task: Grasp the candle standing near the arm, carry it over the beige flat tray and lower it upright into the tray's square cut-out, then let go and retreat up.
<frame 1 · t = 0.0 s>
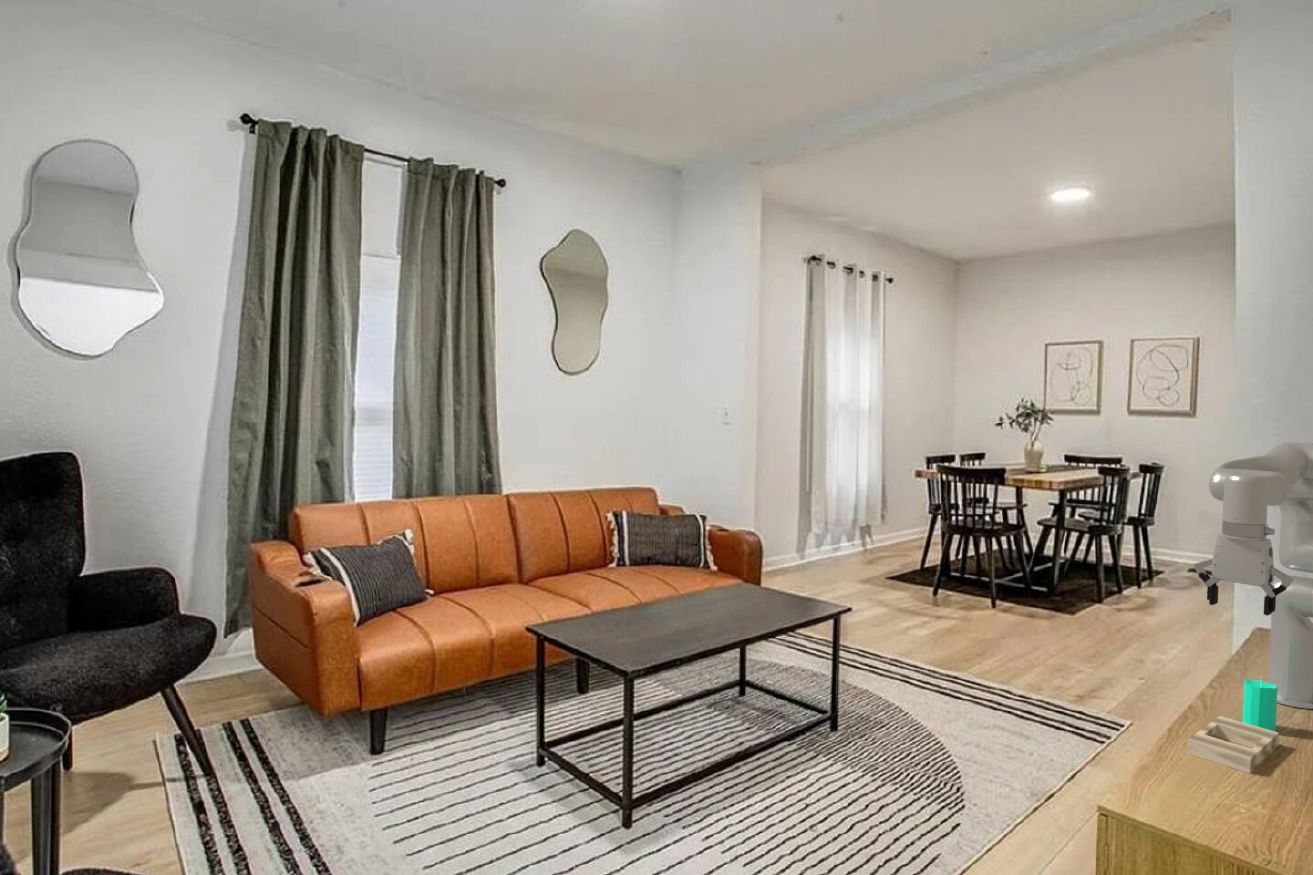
hand: (1240, 608, 163), 31 cm above the table, tool pointing down, fingers open, 9 cm apart
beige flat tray: (1233, 749, 165), on the table
candle: (1258, 728, 176), on the table
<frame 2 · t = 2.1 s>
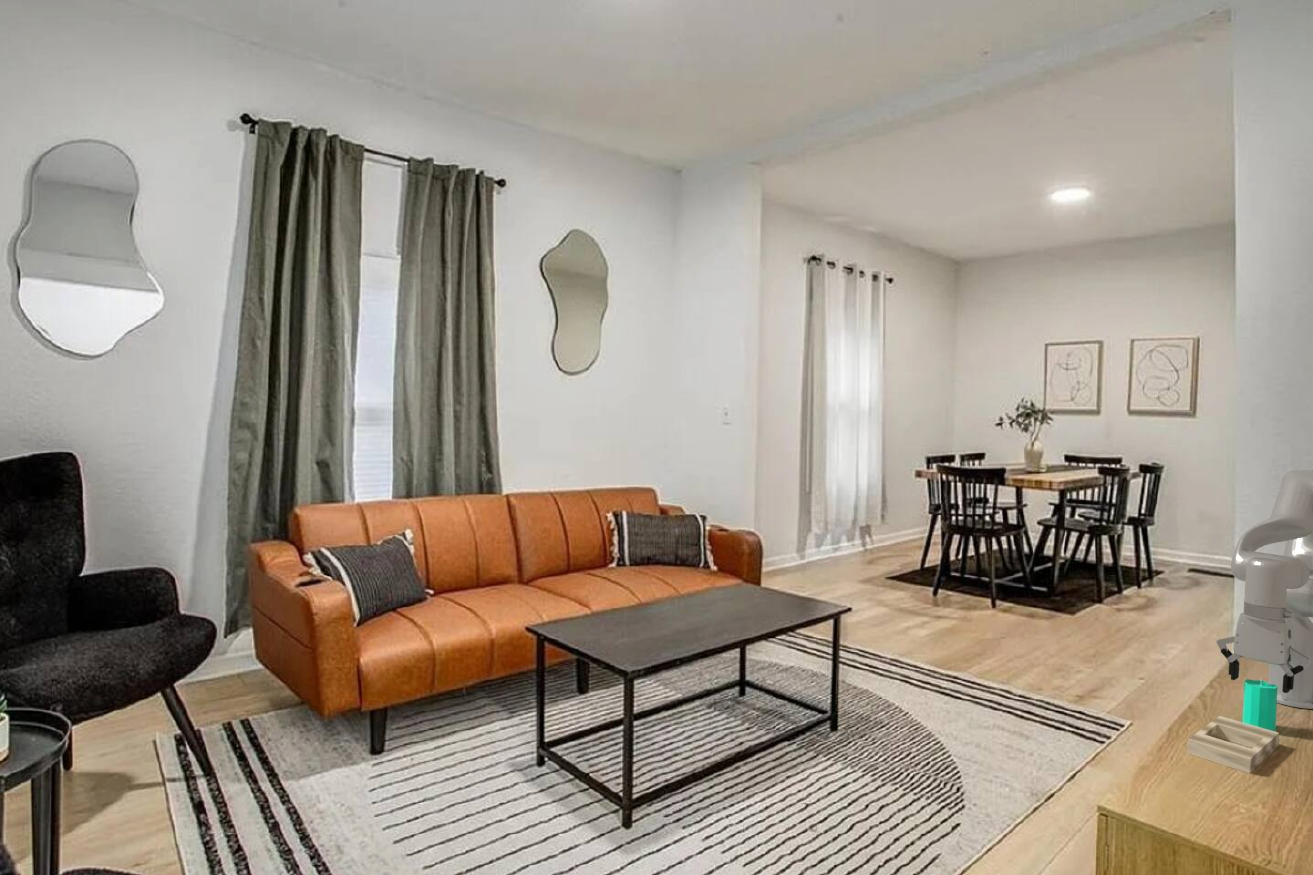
hand: (1259, 685, 175), 10 cm above the table, tool pointing down, fingers open, 9 cm apart
nothing on the table moved.
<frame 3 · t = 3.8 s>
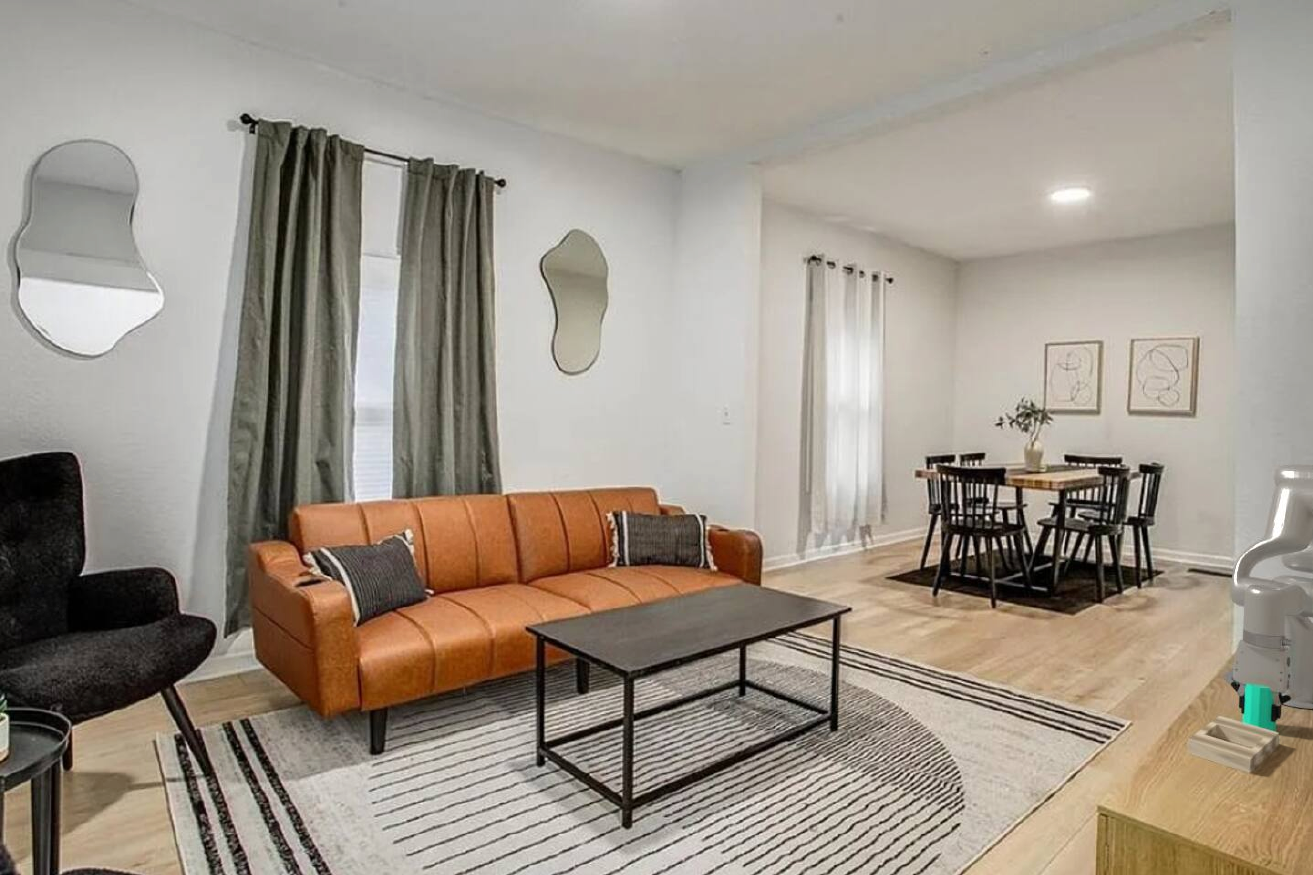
hand: (1259, 715, 176), 3 cm above the table, tool pointing down, fingers closed on candle, 4 cm apart
candle: (1258, 728, 176), on the table, touching gripper
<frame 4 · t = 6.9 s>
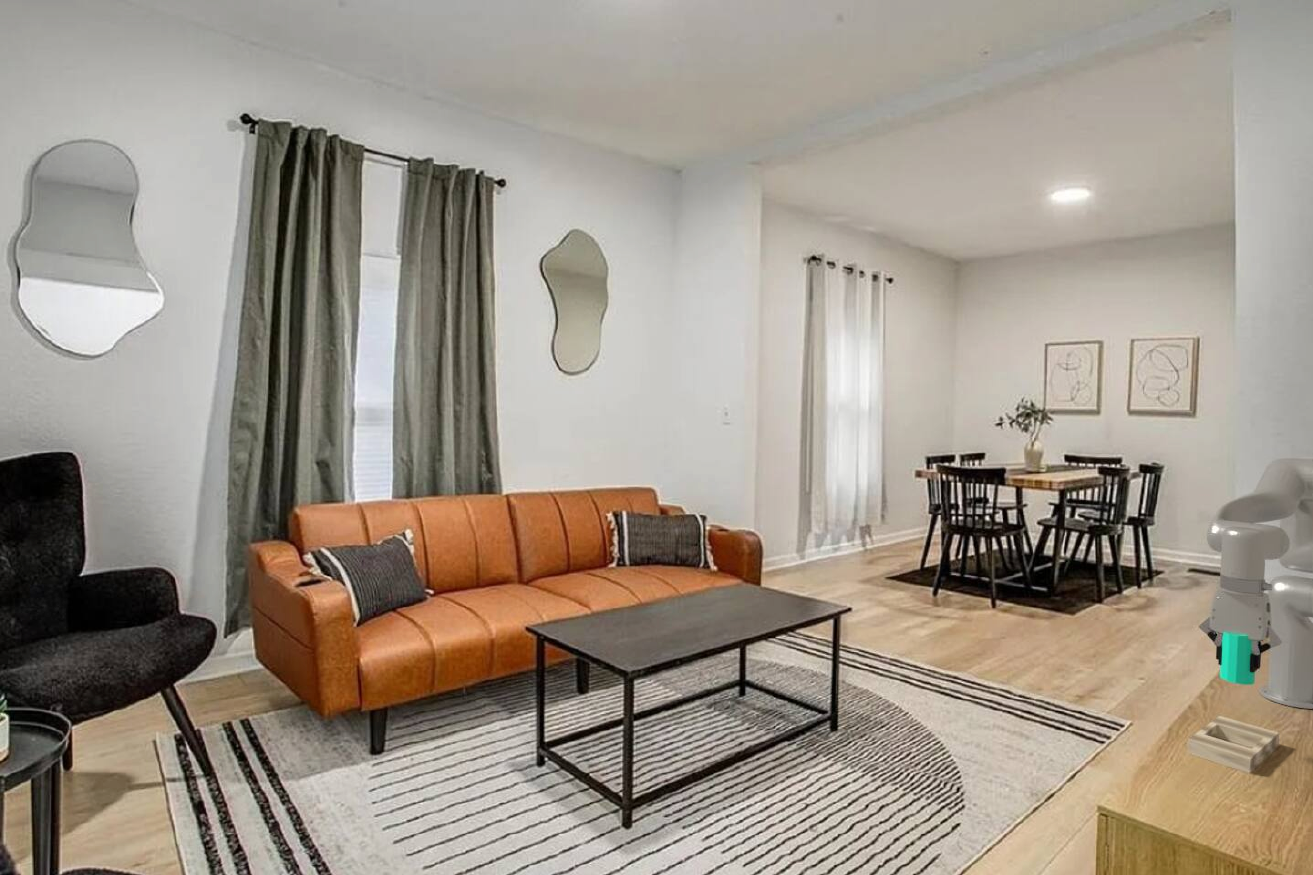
hand: (1237, 666, 164), 18 cm above the table, tool pointing down, fingers closed on candle, 4 cm apart
candle: (1236, 680, 164), point 15 cm above the table, touching gripper
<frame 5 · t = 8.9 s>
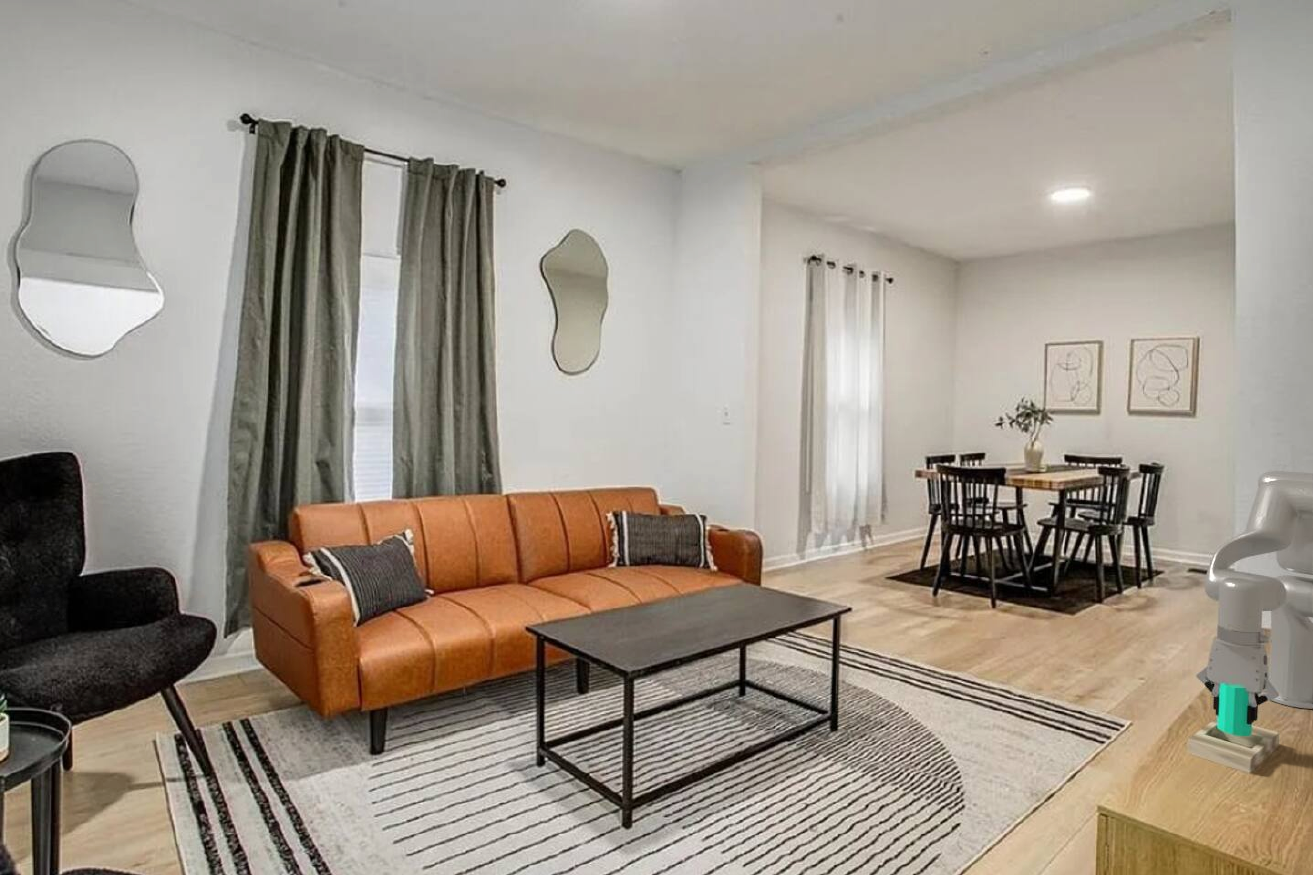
hand: (1234, 717, 165), 7 cm above the table, tool pointing down, fingers closed on candle, 4 cm apart
candle: (1234, 731, 165), point 4 cm above the table, touching gripper
when the fingers open (5 cm above the table, at t = 10.3 s): candle drops 2 cm, resting in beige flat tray.
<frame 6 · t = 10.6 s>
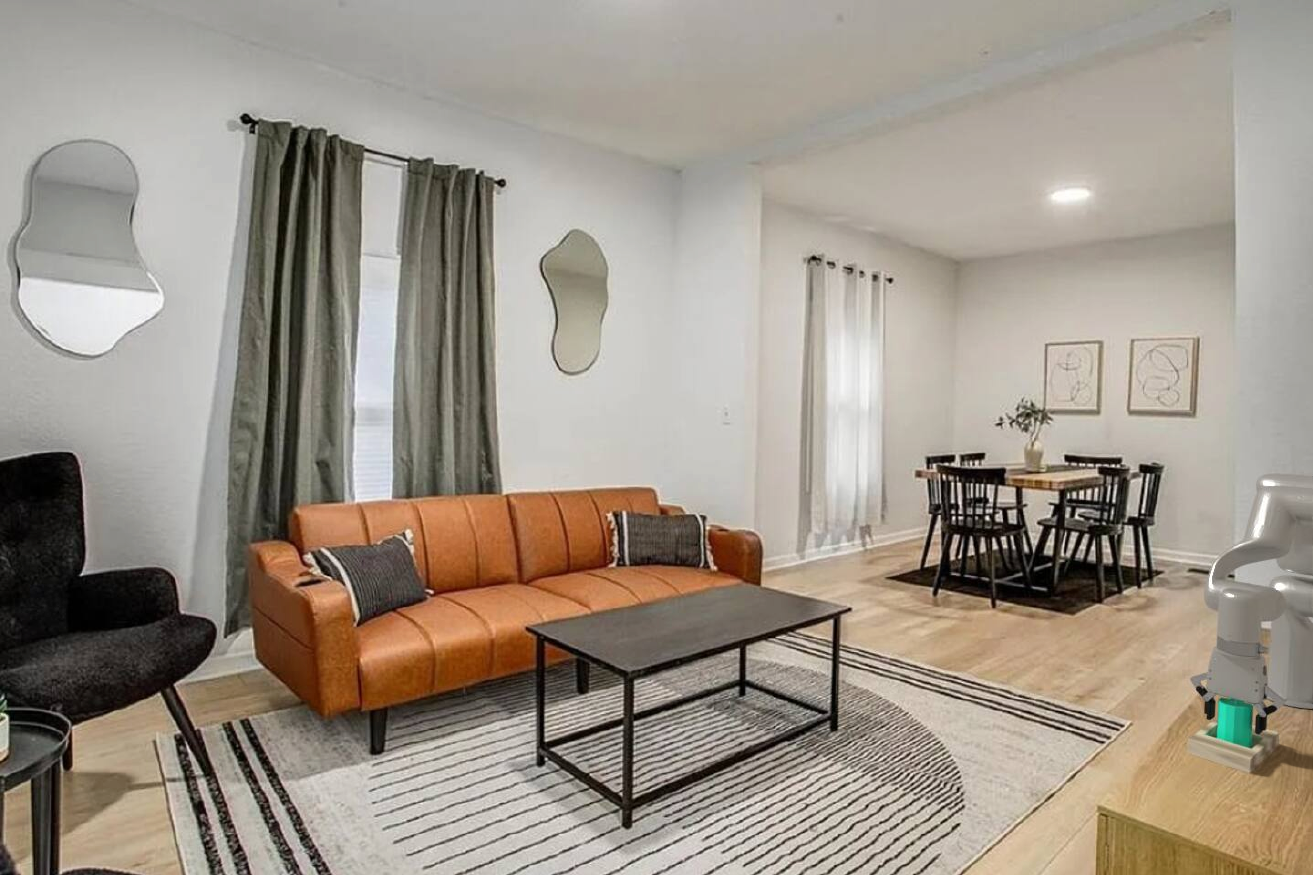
hand: (1234, 724, 165), 6 cm above the table, tool pointing down, fingers open, 8 cm apart
candle: (1233, 750, 165), resting in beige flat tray
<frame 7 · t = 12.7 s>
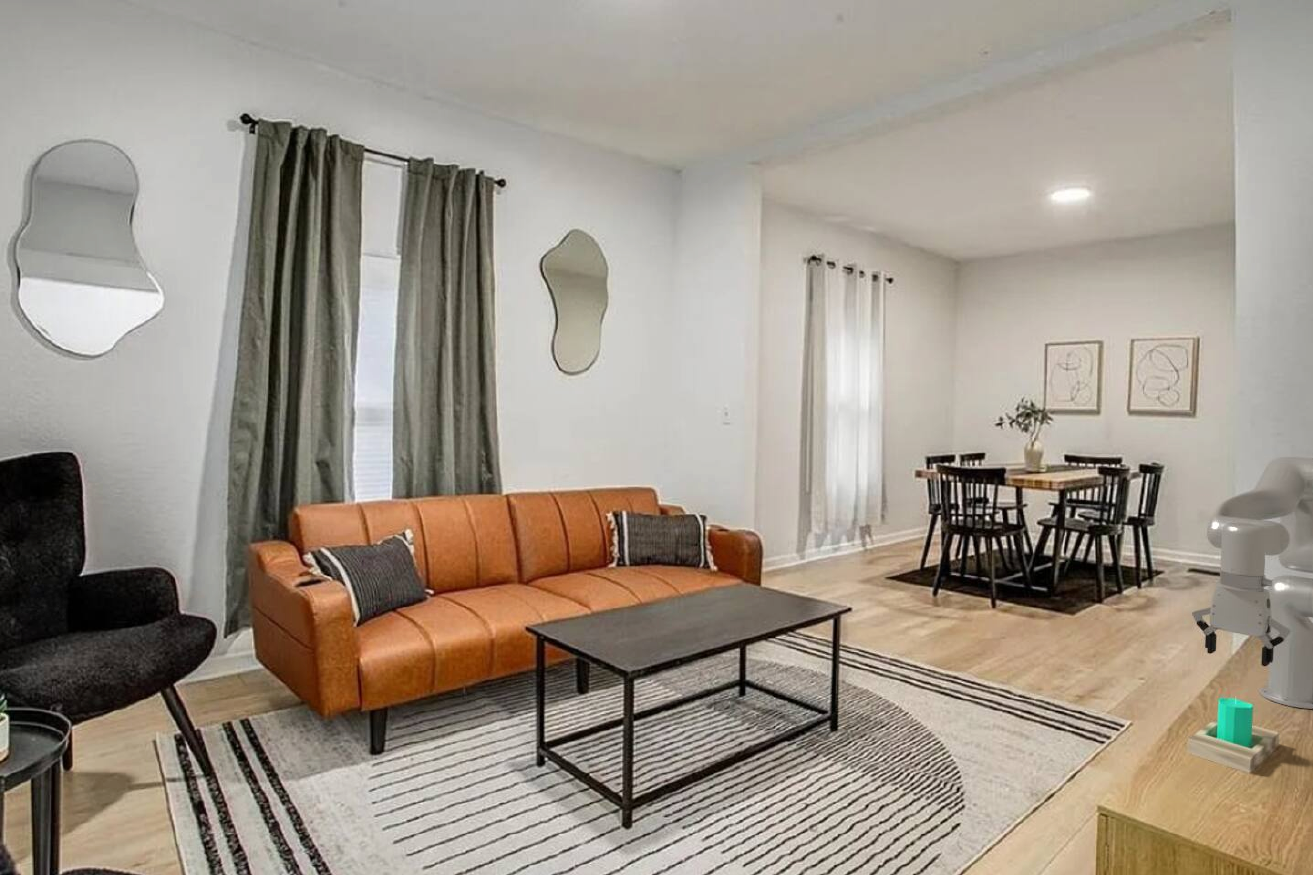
hand: (1237, 658, 164), 20 cm above the table, tool pointing down, fingers open, 9 cm apart
nothing on the table moved.
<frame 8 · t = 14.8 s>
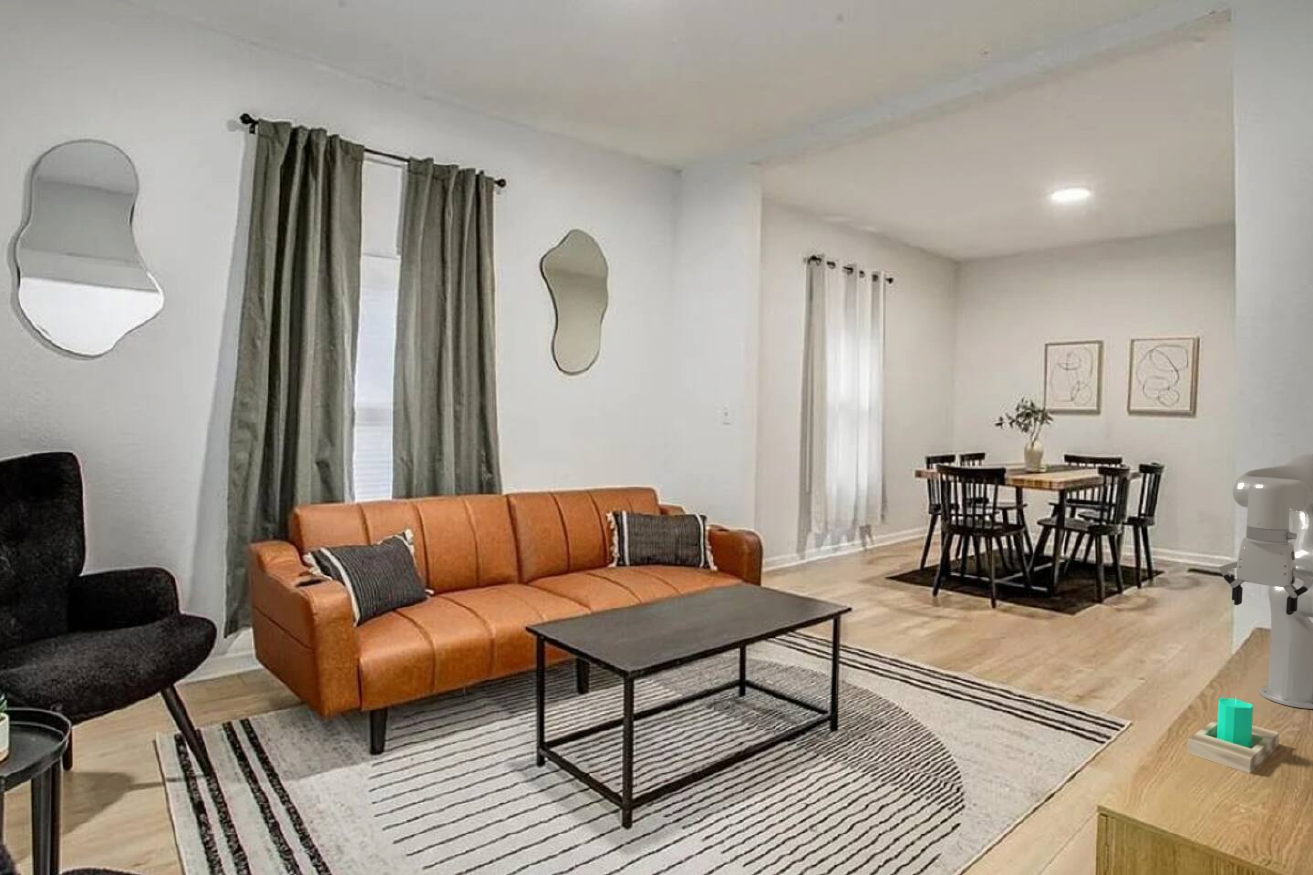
hand: (1263, 608, 174), 28 cm above the table, tool pointing down, fingers open, 9 cm apart
nothing on the table moved.
at the end: candle 0.2 cm off-centre on the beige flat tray, point 0.0 cm above the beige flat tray's base; candle tilted 0°; the gripper is holding nothing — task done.
